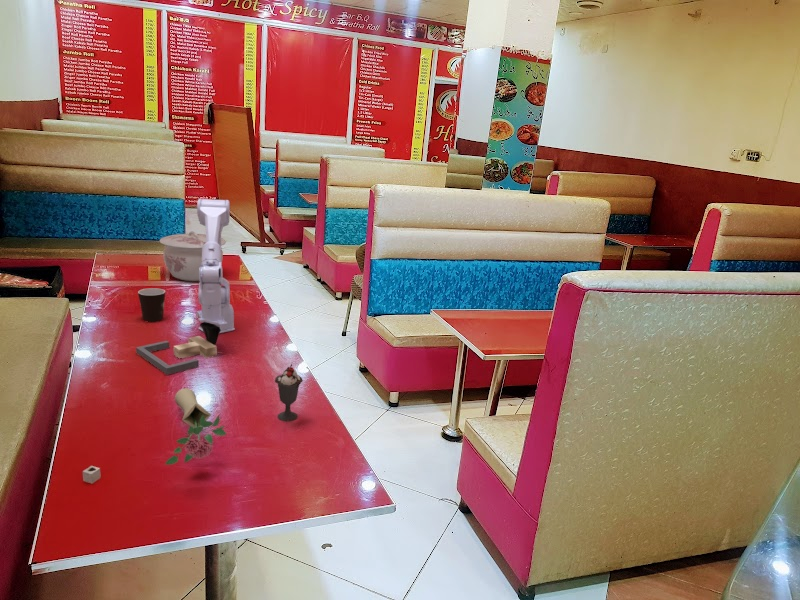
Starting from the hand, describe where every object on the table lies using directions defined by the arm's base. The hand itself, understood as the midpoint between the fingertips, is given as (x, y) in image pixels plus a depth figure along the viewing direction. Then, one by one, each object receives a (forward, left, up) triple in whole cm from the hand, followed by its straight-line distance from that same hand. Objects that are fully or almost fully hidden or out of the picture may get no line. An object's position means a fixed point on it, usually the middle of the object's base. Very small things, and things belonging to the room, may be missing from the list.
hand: (211, 344), depth 177 cm
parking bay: (+15, 0, -1) cm, 15 cm away
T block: (+6, 0, -1) cm, 7 cm away
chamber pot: (-36, -77, -2) cm, 85 cm away
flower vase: (+30, +44, -2) cm, 54 cm away
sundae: (+8, +49, -2) cm, 50 cm away
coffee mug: (+1, -36, -2) cm, 36 cm away
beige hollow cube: (+52, +45, -2) cm, 69 cm away
